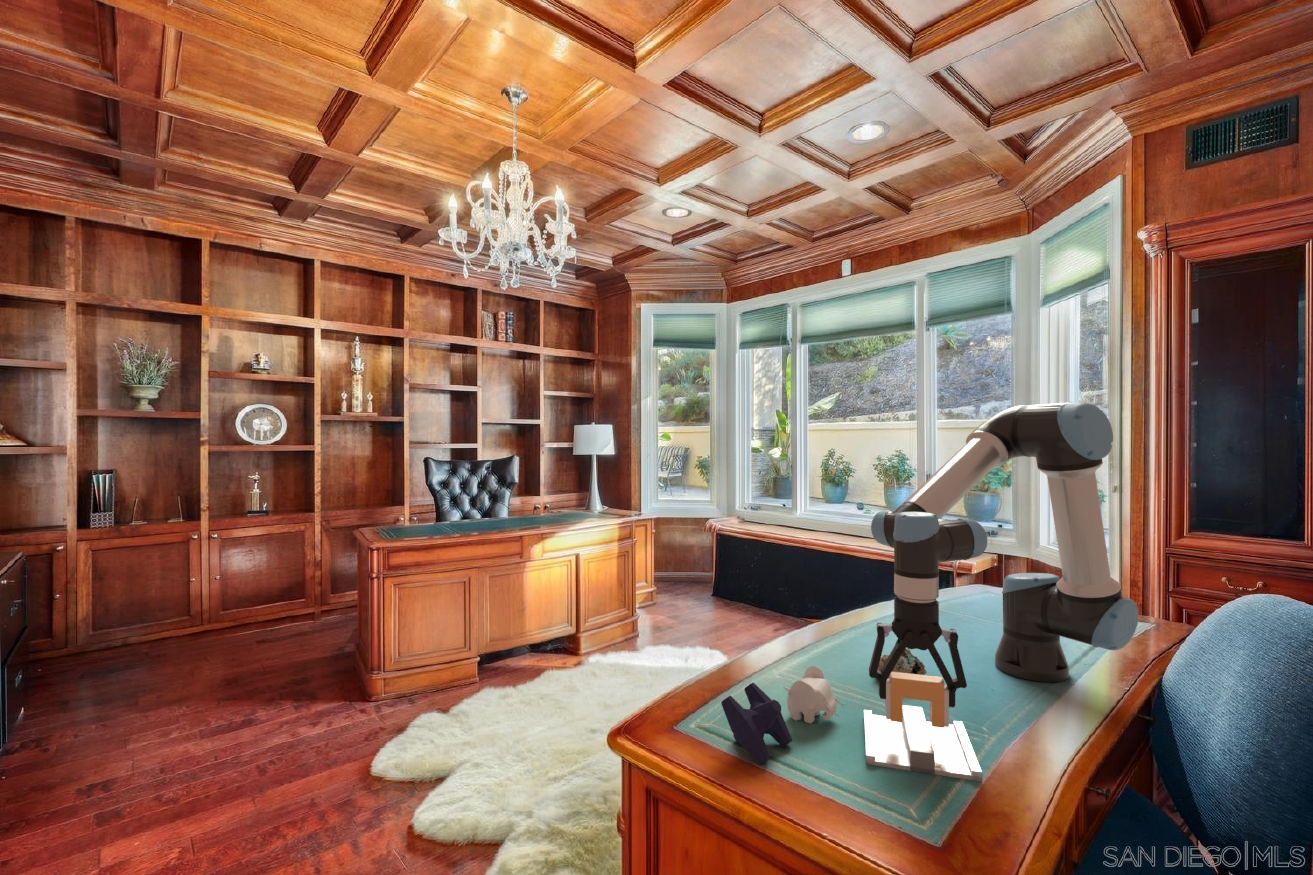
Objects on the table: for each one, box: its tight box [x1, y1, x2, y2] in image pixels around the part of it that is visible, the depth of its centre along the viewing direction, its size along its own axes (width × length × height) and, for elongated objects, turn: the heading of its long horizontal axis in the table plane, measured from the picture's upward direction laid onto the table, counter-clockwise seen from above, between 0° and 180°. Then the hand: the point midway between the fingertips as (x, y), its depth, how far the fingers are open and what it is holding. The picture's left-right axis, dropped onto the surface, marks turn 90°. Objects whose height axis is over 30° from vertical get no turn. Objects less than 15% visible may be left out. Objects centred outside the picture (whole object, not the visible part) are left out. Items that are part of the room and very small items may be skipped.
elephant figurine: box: [782, 665, 845, 724], centre depth 122 cm, size 10×12×9 cm
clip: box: [889, 672, 945, 728], centre depth 110 cm, size 9×3×8 cm, turn 72°
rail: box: [863, 704, 983, 782], centre depth 110 cm, size 18×18×4 cm
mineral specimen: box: [878, 648, 928, 678], centre depth 141 cm, size 12×9×8 cm
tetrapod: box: [720, 682, 793, 765], centre depth 110 cm, size 11×12×11 cm
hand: (916, 719), depth 110 cm, fingers closed on clip, 9 cm apart
